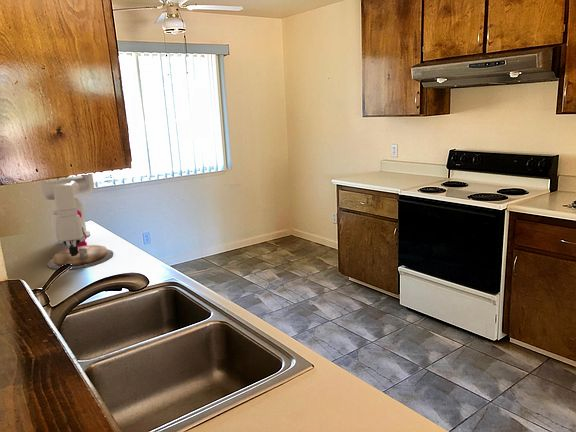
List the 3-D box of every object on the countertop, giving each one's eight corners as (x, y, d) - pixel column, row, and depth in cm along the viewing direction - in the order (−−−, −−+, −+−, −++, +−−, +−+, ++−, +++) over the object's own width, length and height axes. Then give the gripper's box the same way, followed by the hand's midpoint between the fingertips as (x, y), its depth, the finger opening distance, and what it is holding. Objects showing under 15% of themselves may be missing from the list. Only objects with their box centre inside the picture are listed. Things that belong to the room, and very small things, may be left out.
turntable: (57, 269, 191) (54, 254, 190) (50, 256, 209) (48, 243, 208) (112, 257, 203) (110, 243, 201) (101, 246, 221) (99, 233, 219)
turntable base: (33, 266, 199) (33, 265, 199) (81, 247, 223) (81, 246, 223) (81, 272, 189) (80, 270, 189) (126, 251, 213) (125, 249, 213)
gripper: (44, 216, 187) (52, 259, 191) (83, 213, 189) (90, 256, 193) (51, 212, 195) (59, 254, 199) (88, 209, 196) (95, 251, 200)
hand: (74, 255), depth 196 cm, fingers closed
